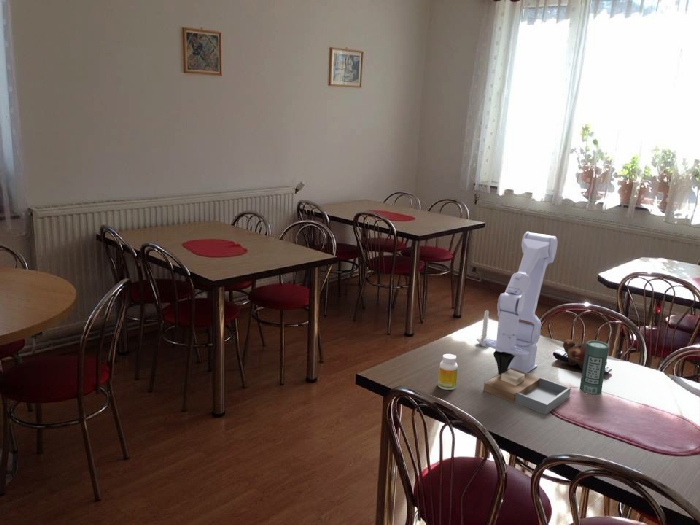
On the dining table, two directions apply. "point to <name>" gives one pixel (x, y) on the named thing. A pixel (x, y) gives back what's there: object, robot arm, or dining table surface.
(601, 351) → the can
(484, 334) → the screw
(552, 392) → the box
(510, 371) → the wooden tile
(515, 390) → the wooden board
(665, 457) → the dining table surface
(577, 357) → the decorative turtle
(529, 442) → the dining table surface
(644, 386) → the dining table surface
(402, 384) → the dining table surface
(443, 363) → the supplement bottle
